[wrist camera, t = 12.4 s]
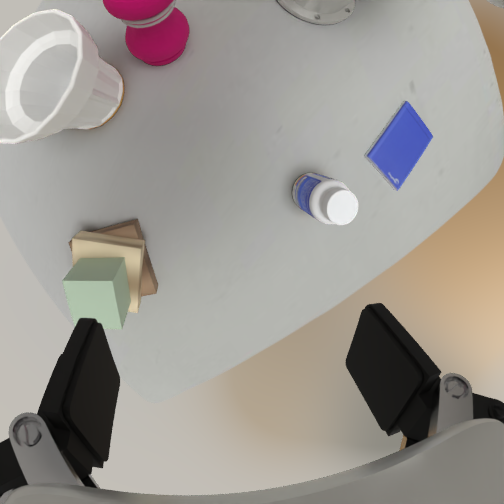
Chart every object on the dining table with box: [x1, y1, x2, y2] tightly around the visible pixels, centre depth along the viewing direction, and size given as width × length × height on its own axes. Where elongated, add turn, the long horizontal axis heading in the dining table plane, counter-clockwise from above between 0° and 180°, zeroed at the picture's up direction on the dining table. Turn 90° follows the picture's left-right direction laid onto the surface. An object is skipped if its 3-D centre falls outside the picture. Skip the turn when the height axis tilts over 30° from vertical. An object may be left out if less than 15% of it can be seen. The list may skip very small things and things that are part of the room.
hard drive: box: [364, 101, 433, 191], centre depth 38 cm, size 2×8×12 cm
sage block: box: [62, 257, 131, 329], centre depth 29 cm, size 6×6×6 cm
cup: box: [0, 9, 124, 144], centre depth 20 cm, size 11×11×17 cm
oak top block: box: [72, 231, 145, 313], centre depth 33 cm, size 9×9×3 cm
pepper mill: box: [103, 0, 189, 66], centre depth 18 cm, size 7×7×20 cm
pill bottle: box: [292, 173, 358, 225], centre depth 34 cm, size 5×5×10 cm
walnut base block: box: [69, 219, 158, 296], centre depth 36 cm, size 10×10×3 cm
